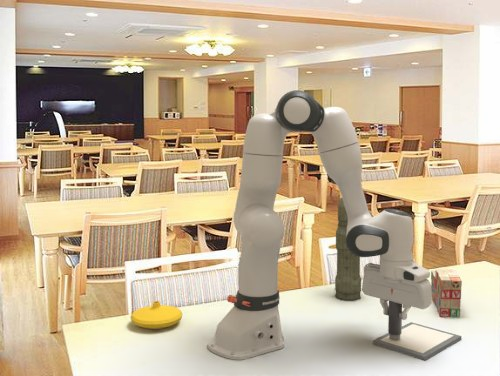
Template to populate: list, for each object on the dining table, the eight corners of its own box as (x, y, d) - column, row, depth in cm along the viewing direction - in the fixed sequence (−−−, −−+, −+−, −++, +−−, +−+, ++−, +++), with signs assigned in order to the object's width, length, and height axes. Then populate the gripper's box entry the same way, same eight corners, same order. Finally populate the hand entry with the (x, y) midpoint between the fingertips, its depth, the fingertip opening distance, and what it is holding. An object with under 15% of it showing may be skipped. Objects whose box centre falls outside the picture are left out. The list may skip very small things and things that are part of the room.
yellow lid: (120, 329, 179) (119, 306, 179) (150, 313, 194) (150, 291, 193) (163, 337, 173) (163, 313, 172) (192, 320, 187) (191, 298, 186)
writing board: (425, 360, 155) (425, 356, 155) (372, 343, 166) (372, 339, 166) (461, 339, 169) (461, 335, 168) (410, 325, 180) (411, 321, 180)
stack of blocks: (430, 296, 208) (431, 261, 206) (449, 297, 207) (450, 262, 205) (439, 317, 187) (440, 279, 185) (460, 318, 186) (462, 280, 184)
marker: (396, 341, 163) (398, 290, 162) (385, 337, 166) (385, 287, 164) (404, 337, 166) (405, 287, 164) (392, 334, 169) (393, 284, 167)
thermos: (347, 290, 215) (349, 194, 210) (368, 299, 204) (370, 198, 200) (327, 294, 211) (328, 196, 206) (347, 303, 200) (349, 200, 196)
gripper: (357, 263, 169) (357, 310, 170) (423, 277, 154) (421, 329, 156) (370, 259, 173) (370, 305, 175) (435, 272, 159) (434, 322, 160)
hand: (395, 316), depth 165 cm, fingers closed on marker, 4 cm apart
